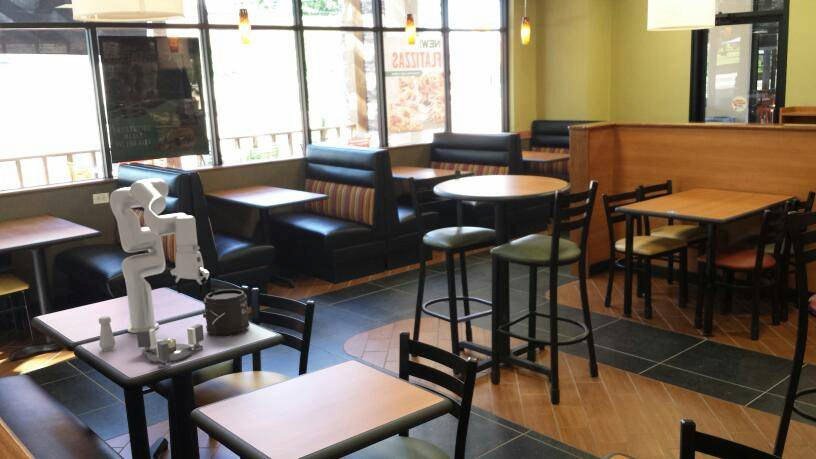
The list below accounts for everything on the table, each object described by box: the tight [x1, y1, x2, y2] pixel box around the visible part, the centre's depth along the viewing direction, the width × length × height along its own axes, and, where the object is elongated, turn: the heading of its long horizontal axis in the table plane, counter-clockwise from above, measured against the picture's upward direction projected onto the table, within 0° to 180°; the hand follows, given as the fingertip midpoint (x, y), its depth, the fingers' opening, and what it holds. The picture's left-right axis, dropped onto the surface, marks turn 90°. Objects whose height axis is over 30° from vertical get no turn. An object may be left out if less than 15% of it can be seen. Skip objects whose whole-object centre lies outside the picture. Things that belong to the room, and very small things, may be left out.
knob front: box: [155, 338, 170, 364], centre depth 264 cm, size 2×6×8 cm, turn 36°
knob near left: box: [186, 323, 205, 347], centre depth 281 cm, size 2×6×8 cm, turn 157°
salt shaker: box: [98, 315, 116, 352], centre depth 285 cm, size 6×6×13 cm
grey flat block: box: [136, 329, 157, 351], centre depth 278 cm, size 2×6×8 cm, turn 97°
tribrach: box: [141, 337, 204, 369], centre depth 272 cm, size 21×23×7 cm
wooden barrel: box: [202, 288, 251, 338], centre depth 301 cm, size 18×18×16 cm
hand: (191, 293), depth 277 cm, fingers open, 9 cm apart
